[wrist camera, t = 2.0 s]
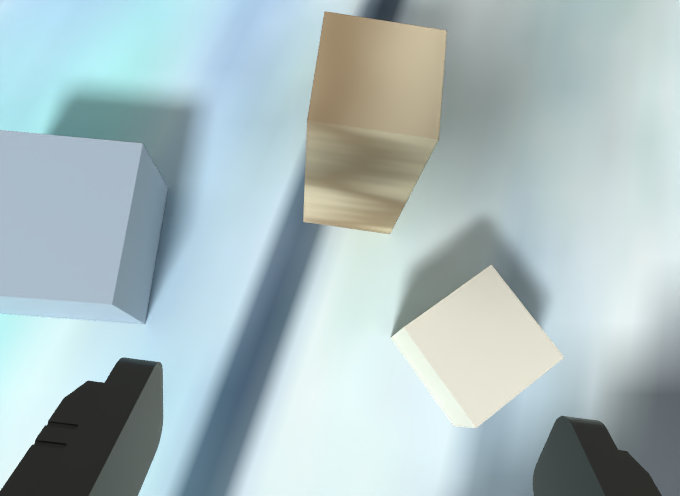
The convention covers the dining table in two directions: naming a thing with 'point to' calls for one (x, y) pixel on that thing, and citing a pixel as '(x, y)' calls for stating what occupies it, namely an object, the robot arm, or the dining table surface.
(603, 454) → the robot arm
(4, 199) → the blue base block
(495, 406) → the cream block
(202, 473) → the dining table surface
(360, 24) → the oak block
